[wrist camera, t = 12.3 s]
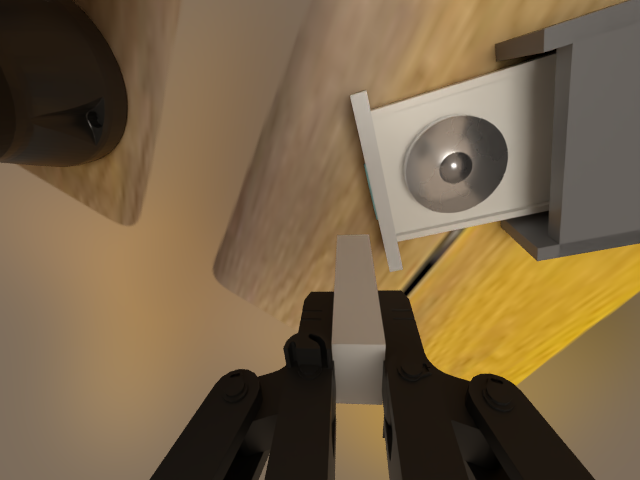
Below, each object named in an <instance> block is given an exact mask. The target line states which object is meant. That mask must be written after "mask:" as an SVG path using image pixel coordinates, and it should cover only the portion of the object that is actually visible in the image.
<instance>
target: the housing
mask: <svg viewBox="0 0 640 480" xmlns="http://www.w3.org/2000/svg"><path fill="white" fill-rule="evenodd" d="M495 46H496V62H497V61H502V60H507V59H512V58H518V57H523V56H528V55H533V54H538V53H544V52H547V51H550V50H553V49H556V48H557V53H556V74H555V95H554V116H553V138H552V159H551V180H550V201H549V211H544V212H539V213H534V214H529V215H524V216H520V217H515V218H510V219H505V220H501V228H502V229H504V230H505V231H506V232H507V233H508V234H509V235H510V236H511V237H512V238H513V239H514V240H515V241H516V242H517V243H518V244H520V245H521V246H522V247H523V248H524V249H525V250H526V251H527V252H528V253H529V254H530V255H531V256H532V257H533V258H535V259H536V260H537V261H541V260H547V259H552V258H558V257H564V256H570V255H575V254H581V253H587V252H593V251H598V250H604V249H610V248H616V247H621V246H627V245H633V244H639V243H640V0H628V1H625V2H622V3H619V4H616V5H613V6H610V7H607V8H604V9H601V10H598V11H595V12H591V13H588V14H585V15H582V16H579V17H576V18H573V19H570V20H567V21H564V22H561V23H558V24H555V25H552V26H549V27H546V28H543V29H540V30H537V31H534V32H531V33H528V34H525V35H522V36H519V37H516V38H513V39H510V40H507V41H504V42H501V43H498V44H495Z"/></svg>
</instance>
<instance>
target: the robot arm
mask: <svg viewBox="0 0 640 480" xmlns="http://www.w3.org/2000/svg"><path fill="white" fill-rule="evenodd" d="M126 116H127V100H126V93H125V87H124V83H123V79H122V76H121V73H120V70H119V67H118V65H117V62H116V60H115V58H114V55H113V53H112V51H111V50H110V48H109V46H108V44H107V42H106V41H105V39H104V38H103V36H102V35H101V33H100V32H99V30H98V29H97V28H96V26H95V25H94V24H93V22H92V21H91V20H90V19H89V18H88V16H87V15H86V14H85V13H84V12H83V11H82V10H81V9H80V8H79V7H78V6H77V5H76V4H75V3H74V2H72V1H71V0H0V162H1V163H13V164H26V165H39V166H52V167H68V166H76V165H80V164H84V163H87V162H91V161H94V160H97V159H100V158H102V157H104V156H105V155H107V154H108V153H109V152H111V151H112V150H113V149H114V148H115V146H116V145H117V144H118V142H119V140H120V138H121V136H122V134H123V131H124V128H125V123H126ZM283 349H284V354H285V360H286V366H285V367H283V368H282V369H280V370H278V371H275V372H273V373H269V374H266V375H263V376H259V377H257V376H256V374H255V373H253V372H251V371H249V370H245V369H238V370H235V371H231V372H229V373H228V374H226V375H224V376H223V377H221V379H220V380H219V381H218V382H217V383H216V384H215V385H214V387H213V388H212V390H211V391H210V393H209V394H208V396H207V397H206V398H205V400H204V401H203V403H202V404H201V406H200V407H199V409H198V410H197V412H196V413H195V415H194V416H193V417H192V419H191V420H190V422H189V423H188V425H187V426H186V428H185V429H184V431H183V432H182V433H181V435H180V436H179V438H178V439H177V441H176V442H175V444H174V445H173V447H172V448H171V449H170V451H169V452H168V454H167V455H166V457H165V458H164V460H163V461H162V462H161V464H160V465H159V467H158V468H157V470H156V471H155V473H154V474H153V476H152V477H151V478H150V480H259V477H260V475H261V472H262V470H263V467H264V465H265V462H266V461H267V458H268V456H269V460H268V465H267V470H266V475H265V480H335V450H336V403H346V404H348V403H349V404H377V405H382V403H383V407H384V426H383V438H385V441H386V450H387V460H388V469H389V478H390V480H595V479H594V478H593V477H592V475H591V474H590V473H589V472H588V470H587V469H586V468H585V467H584V466H583V465H582V463H581V462H580V461H579V460H578V459H577V457H576V456H575V455H574V454H573V452H572V451H571V450H570V449H569V448H568V447H567V445H566V444H565V443H564V442H563V440H562V439H561V438H560V437H559V436H558V434H556V432H555V431H554V430H553V428H552V427H551V426H550V425H549V424H548V422H547V421H546V420H545V419H544V418H543V417H542V415H541V414H540V413H539V412H538V410H536V408H535V407H534V406H533V405H532V403H531V402H530V401H529V400H528V399H527V397H526V396H525V395H524V394H523V393H522V391H521V390H519V389H518V388H517V387H516V386H515V385H514V384H513V383H512V382H510V381H508V380H506V379H505V378H503V377H500V376H497V375H493V374H479V375H477V376H475V377H473V378H472V380H471V381H467V380H464V379H460V378H457V377H454V376H451V375H448V374H446V373H443V372H442V371H440V370H438V369H437V368H436V367H435V366H433V365H432V363H431V362H430V361H429V360H428V359H427V357H426V355H425V353H424V349H423V346H422V342H421V339H420V335H419V332H418V329H417V325H416V322H415V320H414V315H413V312H412V308H411V304H410V301H409V299H408V298H407V297H406V295H405V294H404V293H403V292H402V291H401V290H400V291H377V284H376V277H375V271H374V264H373V258H372V251H371V244H370V238H369V234H366V235H337V251H336V269H335V288H334V292H311V293H310V294H309V295H308V296H307V298H306V299H305V300H304V305H303V312H302V316H301V321H300V326H299V332H298V333H297V334H295V335H293V336H292V337H290V338H289V339H288V340H287V342H286V344H285V346H284V348H283ZM269 453H270V455H269Z"/></svg>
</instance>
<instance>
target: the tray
mask: <svg viewBox="0 0 640 480" xmlns="http://www.w3.org/2000/svg"><path fill="white" fill-rule="evenodd" d="M556 53H557V52H554V53H550V54H547V55H544V56H541V57H538V58H534V59H531V60H528V61H525V62H521V63H518V64H515V65H512V66H509V67H505V68H502V69H499V70H496V71H493V72H489V73H486V74H483V75H480V76H477V77H473V78H470V79H467V80H464V81H461V82H457V83H454V84H451V85H448V86H445V87H441V88H438V89H435V90H432V91H429V92H425V93H422V94H419V95H416V96H413V97H409V98H406V99H403V100H400V101H397V102H393V103H390V104H387V105H384V106H381V107H377V108H374V109H371V110H370V106H369V101H368V96H367V91H366V90H364V91H361V92H358V93H355V94H352V95H350V98H351V102H352V107H353V111H354V116H355V120H356V124H357V129H358V133H359V138H360V142H361V146H362V151H363V155H364V160H365V164H364V167H365V172H366V176H367V180H368V185H369V189H370V193H371V198H372V202H373V206H374V211H375V215H376V220H377V219H378V221H379V225H380V230H381V234H382V239H383V243H384V247H385V252H386V256H387V261H388V265H389V269H390V272H392V271H398V270H403V267H402V263H401V258H400V253H399V248H398V243H397V242H399V241H403V240H408V239H413V238H418V237H423V236H428V235H432V234H437V233H442V232H447V231H452V230H457V229H461V228H466V227H471V226H476V225H481V224H486V223H490V222H495V221H500V220H505V219H510V218H515V217H520V216H524V215H529V214H534V213H539V212H544V211H549V201H550V180H551V159H552V138H553V116H554V95H555V74H556ZM450 115H469V116H475V117H479V118H482V119H485V120H487V121H489V122H490V123H492V124H493V125H494V126H496V127H497V128H498V129H499V131H500V132H501V133H502V135H503V137H504V139H505V141H506V144H507V149H508V163H507V168H506V171H505V174H504V176H503V179H502V180H501V182H500V184H499V185H498V187H497V188H496V189H495V191H494V192H493V193H492V194H491V195H490V196H489V197H488V198H487V199H485V200H484V201H483V202H481V203H480V204H478V205H476V206H475V207H473V208H470V209H468V210H465V211H461V212H457V213H439V212H435V211H432V210H429V209H427V208H425V207H424V206H422V205H421V204H420V203H418V202H417V200H416V199H415V198H414V197H413V195H412V194H411V192H410V191H409V189H408V187H407V185H406V183H405V180H404V175H403V162H404V157H405V154H406V151H407V149H408V147H409V145H410V143H411V142H412V140H413V139H414V137H415V136H416V135H417V134H418V133H419V132H420V131H421V130H422V129H423V128H424V127H425V126H427V125H428V124H430V123H431V122H433V121H435V120H437V119H440V118H442V117H446V116H450Z"/></svg>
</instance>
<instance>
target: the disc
mask: <svg viewBox="0 0 640 480" xmlns="http://www.w3.org/2000/svg"><path fill="white" fill-rule="evenodd" d="M507 163H508V149H507V144H506V141H505V139H504V137H503V135H502V133H501V132H500V131H499V129H498V128H497V127H496V126H494V125H493V124H492V123H490V122H489V121H487V120H485V119H482V118H479V117H475V116H469V115H450V116H446V117H442V118H440V119H437V120H435V121H433V122H431V123H430V124H428V125H427V126H425V127H424V128H423V129H422V130H421V131H420V132H419V133H418V134H417V135H416V136H415V137H414V139H413V140H412V142H411V143H410V145H409V147H408V149H407V151H406V154H405V157H404V162H403V175H404V180H405V183H406V185H407V187H408V189H409V191H410V192H411V194H412V195H413V197H414V198H415V199H416V200H417V202H418V203H420V204H421V205H422V206H424V207H425V208H427V209H429V210H432V211H435V212H439V213H457V212H461V211H465V210H468V209H470V208H473V207H475V206H476V205H478V204H480V203H481V202H483V201H484V200H485V199H487V198H488V197H489V196H490V195H491V194H492V193H493V192H494V191H495V189H496V188H497V187H498V185H499V184H500V182H501V180H502V179H503V176H504V174H505V171H506V168H507Z"/></svg>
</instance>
